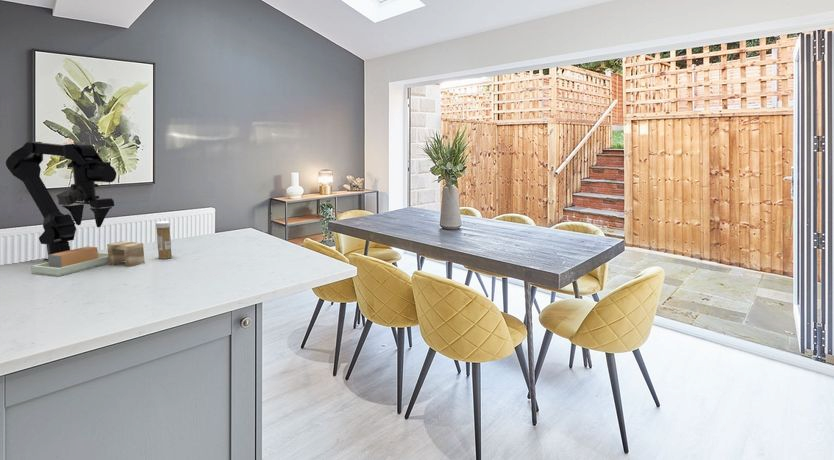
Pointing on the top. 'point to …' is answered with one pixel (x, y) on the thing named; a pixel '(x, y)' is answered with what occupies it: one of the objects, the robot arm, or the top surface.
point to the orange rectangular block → (72, 257)
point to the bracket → (125, 253)
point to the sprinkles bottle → (163, 239)
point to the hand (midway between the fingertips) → (88, 226)
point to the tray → (53, 271)
